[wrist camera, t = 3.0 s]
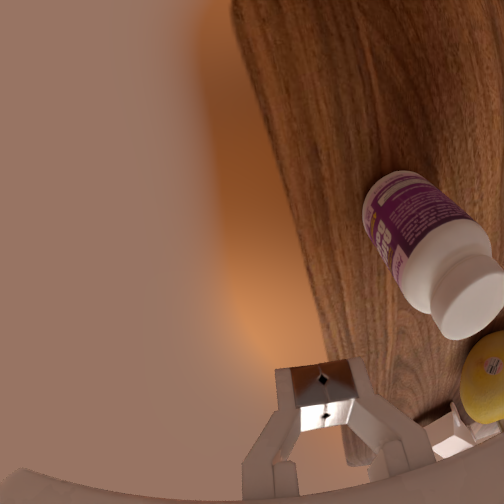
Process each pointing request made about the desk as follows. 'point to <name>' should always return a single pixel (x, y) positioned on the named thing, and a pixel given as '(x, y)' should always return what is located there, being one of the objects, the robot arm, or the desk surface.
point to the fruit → (484, 380)
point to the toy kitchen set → (501, 424)
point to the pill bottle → (434, 253)
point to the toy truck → (450, 434)
